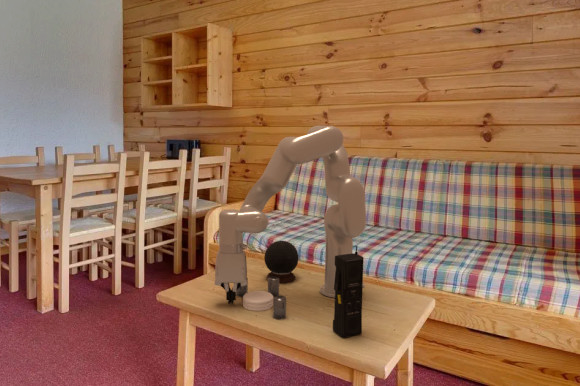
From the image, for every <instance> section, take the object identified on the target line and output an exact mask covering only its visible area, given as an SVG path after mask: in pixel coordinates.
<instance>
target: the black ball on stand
mask: <svg viewBox="0 0 580 386" xmlns="http://www.w3.org/2000/svg"><path fill="white" fill-rule="evenodd" d="M299 259H300V258H299V252H298V250H297V248H296V247H295V246H294V244H292V243H291V242H290V241H287V240H276V241H273V242H272V243H270V245H268V247H267V248H266V250H265V252H264V264H265V266H266V268H267V269H268V271H269V272H268V274H267V275H266V281H268V278H269V277H278V278H279V285H280V284H281V285H284V284H286V285H287V284H290V283H293V282H295V281H296V279H297V277H296V275H295V273H293V271H294V270H295V269H296V268H297V266H298V263H299Z"/></svg>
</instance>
